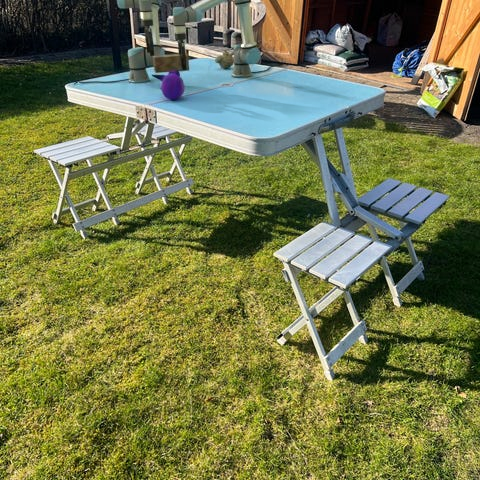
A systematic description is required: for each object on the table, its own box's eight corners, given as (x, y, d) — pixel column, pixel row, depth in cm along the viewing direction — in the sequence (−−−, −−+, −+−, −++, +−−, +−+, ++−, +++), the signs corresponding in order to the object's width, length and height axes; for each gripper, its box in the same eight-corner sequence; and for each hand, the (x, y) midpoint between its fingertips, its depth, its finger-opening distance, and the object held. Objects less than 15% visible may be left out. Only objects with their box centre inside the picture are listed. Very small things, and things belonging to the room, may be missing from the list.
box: (155, 73, 305) (153, 57, 299) (154, 70, 311) (152, 55, 306) (189, 70, 310) (188, 55, 305) (187, 68, 317) (186, 53, 312)
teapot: (218, 70, 370) (218, 51, 363) (212, 68, 379) (211, 49, 371) (241, 68, 380) (240, 48, 372) (234, 66, 388) (233, 47, 381)
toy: (175, 91, 304) (184, 105, 283) (149, 87, 296) (157, 101, 276) (179, 67, 296) (189, 80, 275) (153, 62, 288) (161, 75, 268)
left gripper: (155, 20, 282) (159, 56, 293) (149, 17, 302) (153, 51, 313) (143, 21, 280) (147, 57, 291) (138, 17, 300) (142, 51, 311)
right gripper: (188, 34, 293) (191, 70, 304) (183, 31, 310) (185, 65, 322) (177, 35, 291) (180, 71, 302) (172, 31, 308) (175, 66, 320)
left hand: (150, 54), depth 302 cm, fingers open, 13 cm apart
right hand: (183, 68), depth 312 cm, fingers closed on box, 8 cm apart
